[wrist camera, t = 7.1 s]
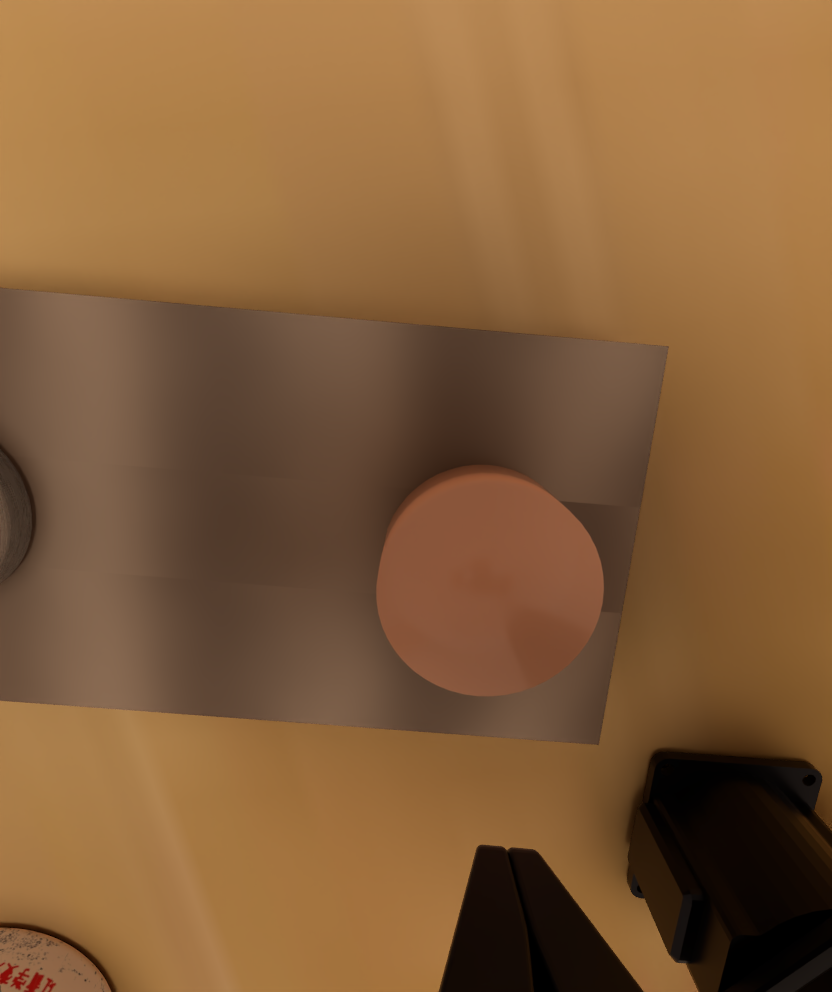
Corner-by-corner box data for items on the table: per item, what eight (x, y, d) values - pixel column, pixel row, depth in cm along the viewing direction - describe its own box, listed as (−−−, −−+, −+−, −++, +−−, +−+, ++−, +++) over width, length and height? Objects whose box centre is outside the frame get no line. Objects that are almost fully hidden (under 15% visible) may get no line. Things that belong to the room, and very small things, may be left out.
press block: (616, 350, 19) (669, 346, 15) (565, 676, 22) (598, 744, 18) (-116, 286, 18) (-258, 265, 15) (-77, 627, 21) (-188, 686, 17)
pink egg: (552, 451, 19) (620, 492, 12) (531, 598, 20) (585, 704, 14) (394, 438, 19) (384, 473, 12) (383, 586, 20) (368, 687, 14)
